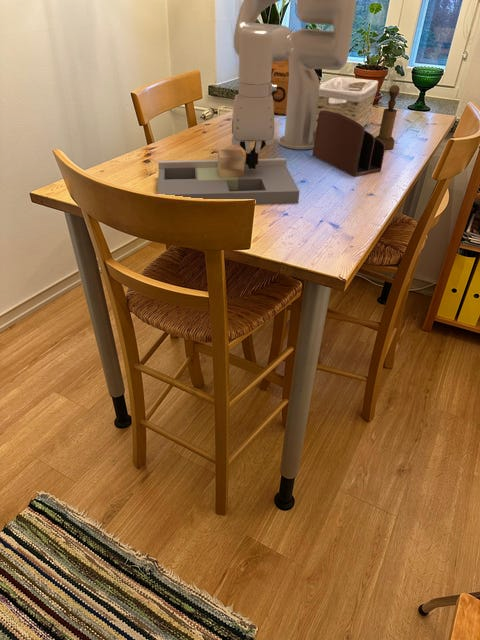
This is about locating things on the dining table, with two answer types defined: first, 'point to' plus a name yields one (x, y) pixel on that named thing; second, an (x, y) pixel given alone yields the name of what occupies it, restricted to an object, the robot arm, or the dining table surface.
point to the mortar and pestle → (389, 120)
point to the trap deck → (228, 181)
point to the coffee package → (280, 85)
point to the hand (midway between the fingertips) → (251, 167)
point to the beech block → (231, 163)
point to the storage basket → (347, 98)
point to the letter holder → (347, 145)
